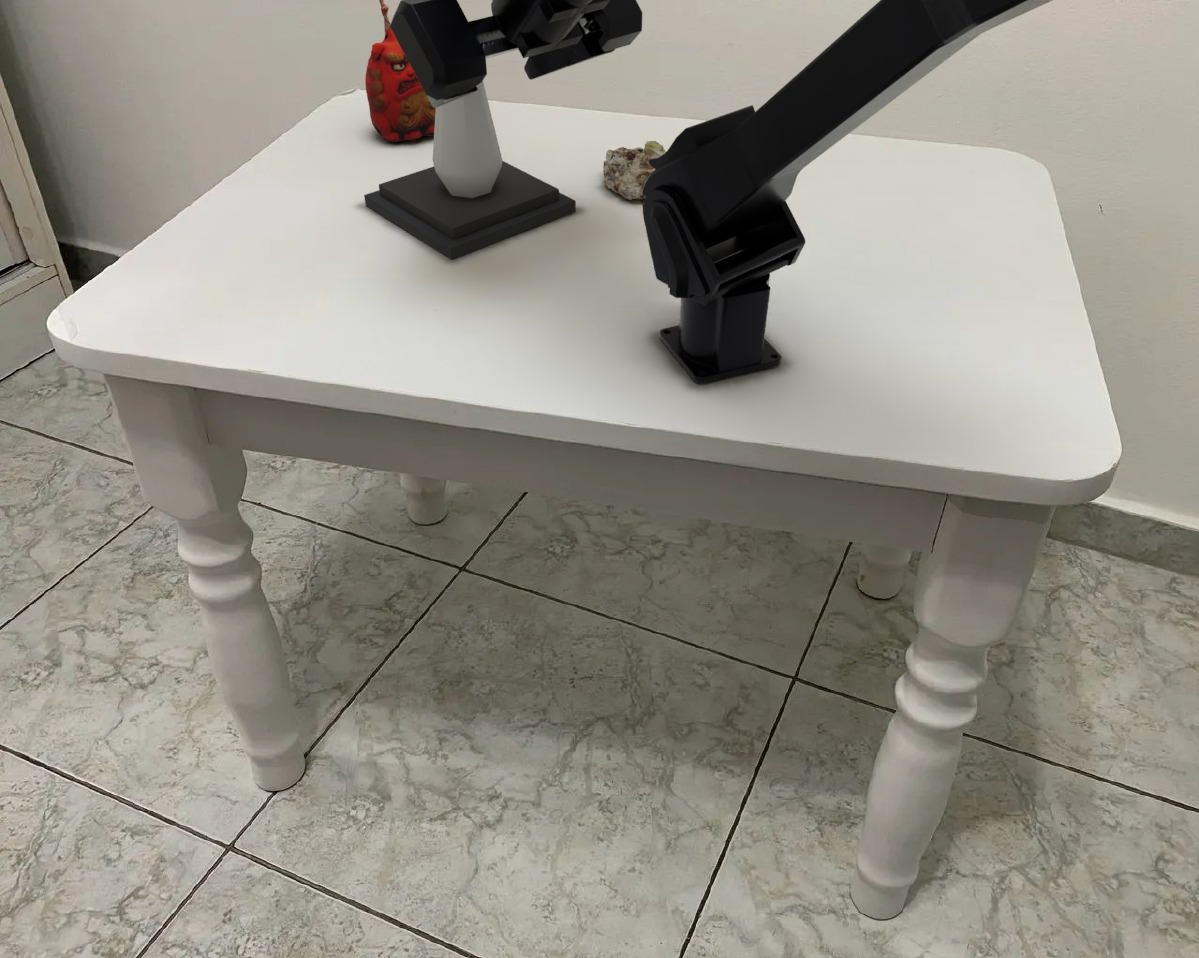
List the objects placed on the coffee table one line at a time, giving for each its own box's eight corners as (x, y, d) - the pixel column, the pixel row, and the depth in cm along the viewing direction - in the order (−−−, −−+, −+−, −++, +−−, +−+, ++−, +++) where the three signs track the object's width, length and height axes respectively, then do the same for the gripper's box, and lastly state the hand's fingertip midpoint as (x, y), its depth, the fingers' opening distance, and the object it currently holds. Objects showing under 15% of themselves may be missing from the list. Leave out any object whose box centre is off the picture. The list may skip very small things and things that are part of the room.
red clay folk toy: (396, 152, 96) (373, -17, 86) (356, 131, 100) (330, -33, 90) (460, 131, 100) (445, -33, 90) (420, 112, 104) (401, -47, 94)
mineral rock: (586, 173, 87) (614, 117, 91) (589, 213, 90) (616, 156, 94) (707, 194, 84) (730, 135, 88) (705, 234, 88) (728, 175, 92)
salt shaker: (434, 176, 87) (415, 17, 79) (499, 170, 88) (488, 13, 80) (438, 205, 83) (419, 41, 74) (507, 199, 84) (496, 36, 75)
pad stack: (576, 211, 86) (575, 189, 85) (451, 259, 80) (449, 236, 79) (486, 165, 94) (484, 144, 93) (365, 205, 87) (361, 183, 86)
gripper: (618, -173, 69) (527, -28, 82) (383, -141, 59) (324, 17, 73) (694, -26, 69) (591, 94, 83) (473, 29, 60) (398, 155, 73)
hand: (481, 87), depth 78 cm, fingers open, 9 cm apart
